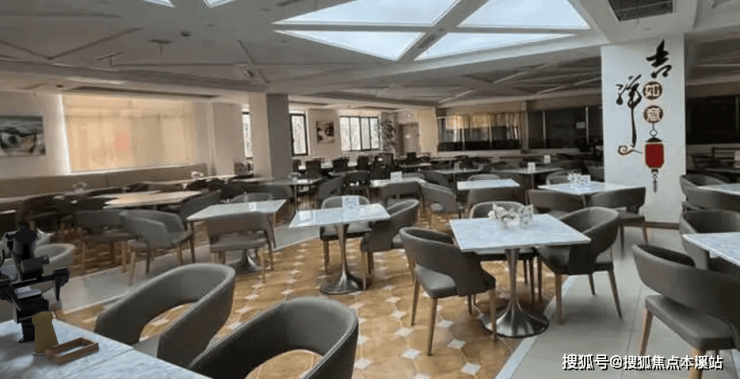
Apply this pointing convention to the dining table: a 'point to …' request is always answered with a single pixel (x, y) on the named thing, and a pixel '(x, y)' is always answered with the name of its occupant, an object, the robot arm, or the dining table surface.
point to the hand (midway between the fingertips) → (40, 305)
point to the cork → (44, 331)
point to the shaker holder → (69, 356)
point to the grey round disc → (38, 353)
